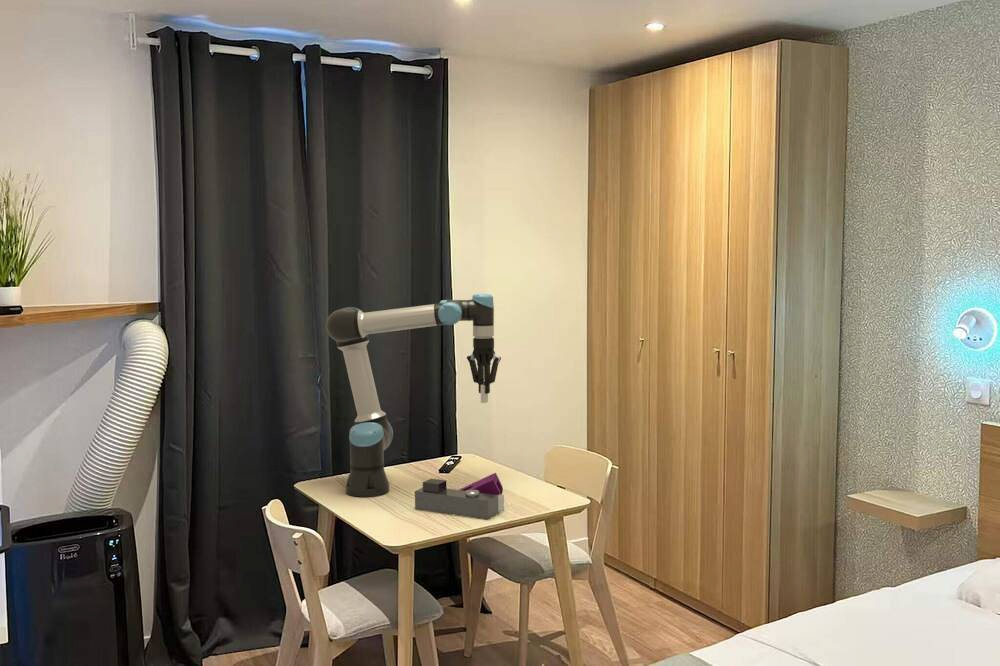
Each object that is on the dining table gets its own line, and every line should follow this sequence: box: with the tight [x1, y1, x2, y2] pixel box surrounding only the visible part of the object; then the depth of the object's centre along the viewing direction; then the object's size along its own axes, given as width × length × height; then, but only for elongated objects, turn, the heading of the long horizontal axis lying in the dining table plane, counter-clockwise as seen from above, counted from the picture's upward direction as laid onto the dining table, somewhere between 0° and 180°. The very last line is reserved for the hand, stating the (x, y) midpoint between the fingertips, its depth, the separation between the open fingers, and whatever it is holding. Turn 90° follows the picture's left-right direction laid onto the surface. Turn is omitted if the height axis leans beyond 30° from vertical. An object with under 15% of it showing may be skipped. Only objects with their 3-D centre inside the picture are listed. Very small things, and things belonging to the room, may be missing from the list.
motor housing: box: [414, 478, 505, 520], centre depth 285 cm, size 27×11×9 cm, turn 63°
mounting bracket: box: [458, 472, 504, 495], centre depth 292 cm, size 9×8×18 cm
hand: (484, 402), depth 316 cm, fingers closed
